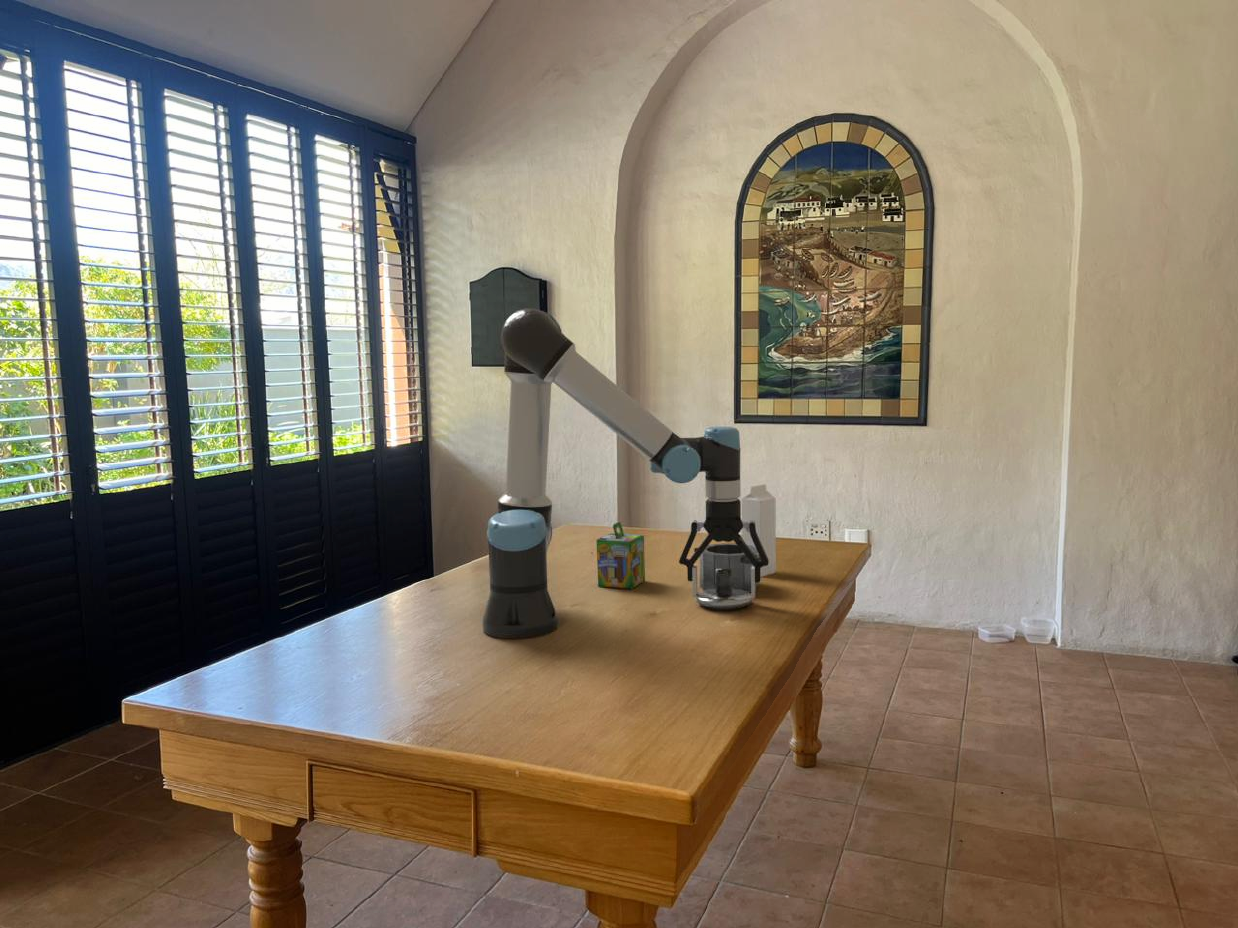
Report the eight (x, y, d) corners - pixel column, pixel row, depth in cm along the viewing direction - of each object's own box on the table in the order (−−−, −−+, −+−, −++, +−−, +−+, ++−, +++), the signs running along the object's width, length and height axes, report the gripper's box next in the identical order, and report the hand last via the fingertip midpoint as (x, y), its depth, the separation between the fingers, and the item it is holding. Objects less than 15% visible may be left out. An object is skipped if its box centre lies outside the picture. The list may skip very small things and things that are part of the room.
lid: (724, 616, 197) (724, 577, 196) (685, 604, 206) (684, 568, 205) (763, 605, 204) (763, 568, 203) (723, 594, 214) (722, 559, 213)
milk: (775, 573, 233) (776, 485, 230) (760, 577, 229) (760, 488, 226) (756, 569, 237) (756, 482, 234) (741, 573, 233) (741, 485, 230)
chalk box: (632, 590, 220) (631, 527, 218) (596, 587, 223) (595, 525, 221) (646, 580, 228) (645, 520, 226) (612, 577, 232) (610, 518, 230)
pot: (737, 599, 210) (736, 559, 208) (682, 584, 223) (682, 547, 222) (775, 588, 218) (775, 550, 217) (720, 575, 231) (720, 539, 230)
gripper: (780, 496, 204) (780, 592, 206) (669, 495, 208) (671, 590, 211) (779, 501, 196) (780, 602, 199) (665, 501, 201) (666, 599, 203)
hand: (724, 596), depth 205 cm, fingers closed on lid, 12 cm apart
